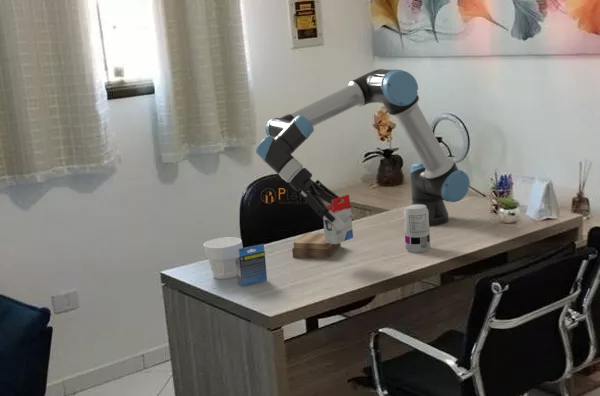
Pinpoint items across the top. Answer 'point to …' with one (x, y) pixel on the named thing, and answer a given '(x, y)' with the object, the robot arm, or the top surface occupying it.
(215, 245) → the cup
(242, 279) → the label tape box
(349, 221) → the ink box
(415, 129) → the robot arm
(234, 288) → the top surface
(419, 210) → the supplement can
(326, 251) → the pedestal
